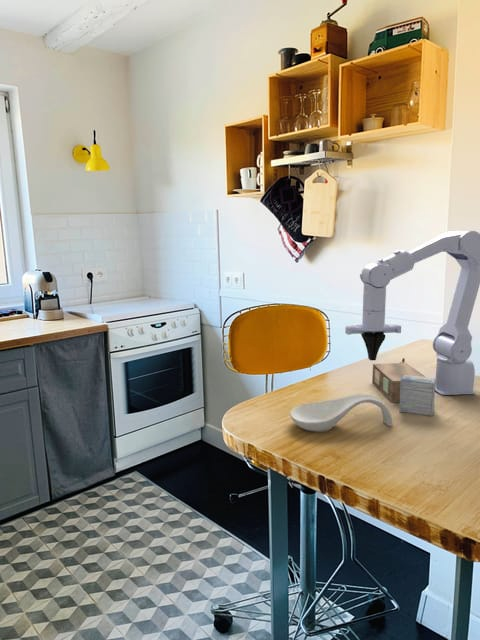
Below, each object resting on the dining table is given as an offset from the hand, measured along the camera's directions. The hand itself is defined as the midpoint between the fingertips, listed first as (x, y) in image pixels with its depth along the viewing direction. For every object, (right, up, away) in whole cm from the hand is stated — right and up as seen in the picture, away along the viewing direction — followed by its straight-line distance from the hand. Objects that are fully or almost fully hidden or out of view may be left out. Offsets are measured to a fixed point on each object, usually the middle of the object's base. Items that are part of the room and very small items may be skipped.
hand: (372, 359), depth 133 cm
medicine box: (+9, -13, -9) cm, 18 cm away
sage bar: (+8, -9, +2) cm, 12 cm away
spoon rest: (-12, -15, -17) cm, 25 cm away
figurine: (+14, -7, +20) cm, 25 cm away
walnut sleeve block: (+9, -9, +5) cm, 14 cm away
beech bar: (+8, -7, +9) cm, 14 cm away
